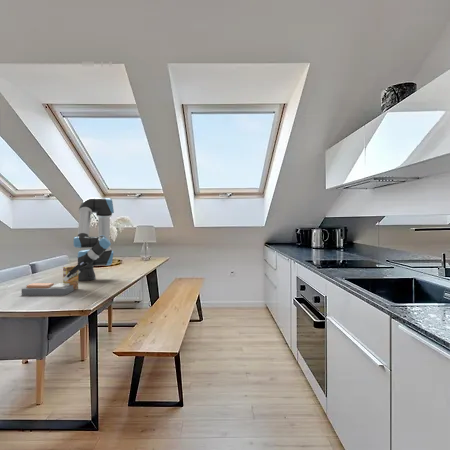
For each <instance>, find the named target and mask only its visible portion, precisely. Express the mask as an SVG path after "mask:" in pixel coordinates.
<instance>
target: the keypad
mask: <svg viewBox="0 0 450 450" xmlns="http://www.w3.org/2000/svg"><path fill="white" fill-rule="evenodd" d="M72 292H74V289H73V285H69V283H63V282H61V283H60V282H59V283H56V284H54V285H53V286H51V287H50V288H27V286H26V287H22V288H21V296H66V295H68V294H70V293H72Z"/></svg>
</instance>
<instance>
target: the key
mask: <svg viewBox="0 0 450 450" xmlns="http://www.w3.org/2000/svg"><path fill="white" fill-rule="evenodd" d="M53 285H55V283H53V282H45V283H44V282H32V283H30V284H27V285H26V287H27V288H50V287H51V286H53Z"/></svg>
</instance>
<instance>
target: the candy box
mask: <svg viewBox="0 0 450 450" xmlns="http://www.w3.org/2000/svg"><path fill="white" fill-rule="evenodd" d="M75 266H76V265H70V266H63V267H62V269H63V271H62V274H63V276H62V283H69V285H73V290H77V289H79V281H78V271H77V272H75V273H74V274H73V275H72V276H71V277H70V278H69V279H68V280H67V281H66V282H65V281H64V280H63V278H64V277H65V276H66V275H67V274H68V273H69V271H71V270H72V269H73V268H74V267H75Z"/></svg>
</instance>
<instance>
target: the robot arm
mask: <svg viewBox="0 0 450 450" xmlns="http://www.w3.org/2000/svg"><path fill="white" fill-rule="evenodd" d="M114 212H115V211H114V204H113V200H112V198H109V197H89V198H86V199H85V200H84V201H82V203H81V204H80V205H79V208H78V214H79V218H78V226H77V227H78V229H77V236H74V237H73V248H76V249H77V248H80V249H81V248H82V249H83V248H84V249H83V250H79V251H78V252H77V265H74V266H75V267H74V268H73V269H72V270H71V271H69V273H68V274H67V275H66V276H65V277H64V278H63V277H62V281H63V280H64V281H65V282H66V281H67V280H68V279H69V278H70V277H71V276H72V275H73V274H74V273H75V272H77V271H78V282H79V281H80V282H85V281H86V282H87V281H93V280H96V279H97V276H96V273H95V270H94V267H98V266H104V267H106V266H111V265H113V259H114V250H113V248H111V246H112V243H111V237H110V236H111V234H110V233H111V227H110V226H111V225H110V224H111V219H110V218H111V217H112V216H113V214H114ZM92 214H96V217H97V218H98V220H97V221H98V224H97V226H98V227H97V228H98V231H97V232H98V233H97V235H98V236H90V229H91V227H90V226H91V216H92ZM85 248H89V249H85Z"/></svg>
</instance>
